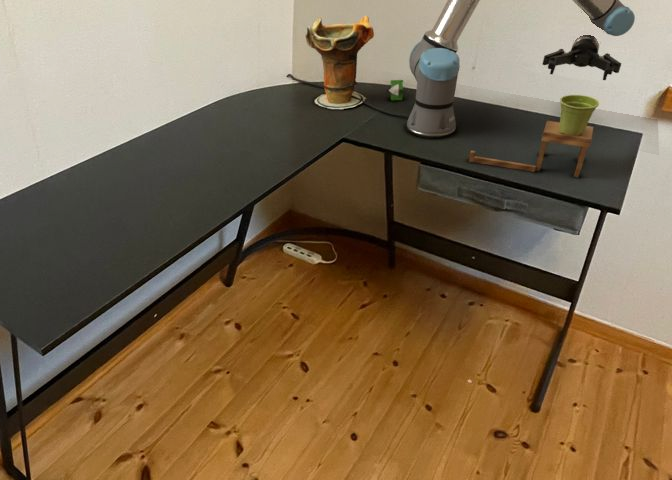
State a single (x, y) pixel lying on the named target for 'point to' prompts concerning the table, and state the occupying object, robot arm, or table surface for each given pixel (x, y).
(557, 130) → the plant stand
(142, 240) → the table surface
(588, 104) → the plant pot
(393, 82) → the geometric puzzle
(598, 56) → the robot arm
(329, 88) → the decorative vase
